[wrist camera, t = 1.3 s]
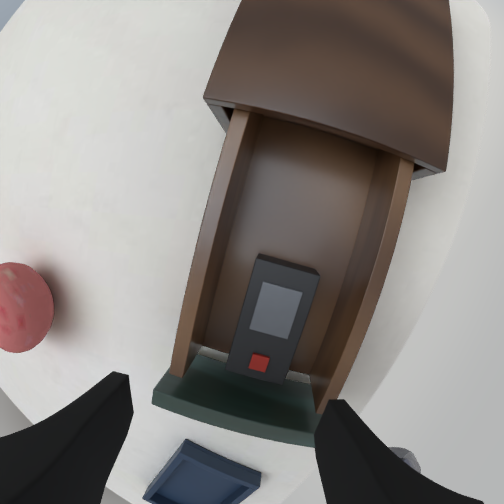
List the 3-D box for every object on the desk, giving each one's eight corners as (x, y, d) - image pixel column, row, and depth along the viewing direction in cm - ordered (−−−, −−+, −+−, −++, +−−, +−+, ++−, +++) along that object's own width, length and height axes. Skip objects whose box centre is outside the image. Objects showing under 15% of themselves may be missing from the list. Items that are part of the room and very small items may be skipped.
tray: (185, 438, 22) (179, 452, 20) (261, 472, 22) (260, 487, 20) (147, 487, 24) (141, 498, 22) (208, 515, 24) (205, 527, 22)
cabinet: (391, 186, 19) (446, 172, 11) (229, 139, 19) (201, 97, 12) (412, -1, 16) (439, -48, 9) (291, -36, 17) (291, -92, 9)
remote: (316, 269, 18) (321, 276, 15) (282, 368, 19) (282, 387, 16) (258, 252, 18) (255, 258, 16) (230, 354, 19) (223, 371, 16)
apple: (11, 281, 23) (-46, 298, 15) (44, 242, 22) (-23, 252, 14) (44, 345, 23) (-9, 376, 15) (82, 315, 22) (19, 348, 14)
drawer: (309, 410, 20) (316, 461, 14) (177, 374, 21) (149, 418, 15) (394, 150, 17) (433, 128, 12) (245, 106, 18) (232, 66, 12)
